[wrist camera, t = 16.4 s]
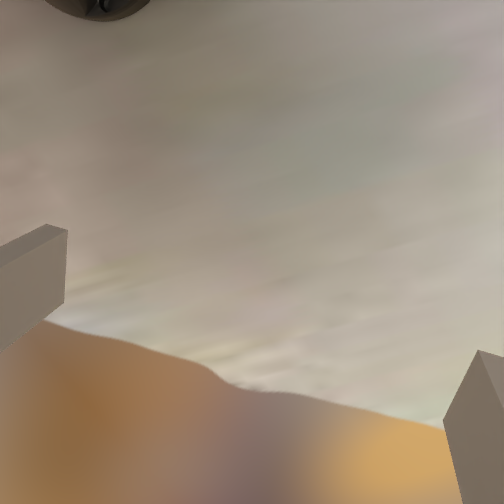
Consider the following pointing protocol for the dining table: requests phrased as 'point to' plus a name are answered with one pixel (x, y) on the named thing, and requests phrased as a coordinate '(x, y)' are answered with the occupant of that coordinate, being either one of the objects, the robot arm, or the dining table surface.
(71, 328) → the dining table surface
